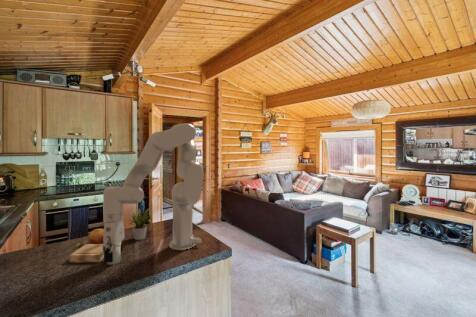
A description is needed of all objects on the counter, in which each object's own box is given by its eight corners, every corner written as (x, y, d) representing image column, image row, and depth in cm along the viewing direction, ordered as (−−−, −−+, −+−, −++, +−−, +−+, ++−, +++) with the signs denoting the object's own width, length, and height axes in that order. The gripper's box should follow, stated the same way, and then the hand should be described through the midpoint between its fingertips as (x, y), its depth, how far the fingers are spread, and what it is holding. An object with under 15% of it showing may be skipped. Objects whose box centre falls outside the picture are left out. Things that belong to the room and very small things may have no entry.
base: (111, 250, 116) (111, 243, 116) (99, 262, 104) (99, 254, 104) (85, 250, 115) (85, 243, 115) (69, 262, 103) (69, 254, 103)
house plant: (158, 233, 140) (158, 204, 140) (153, 242, 127) (153, 210, 126) (132, 233, 138) (132, 204, 138) (124, 243, 125) (124, 211, 124)
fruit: (112, 236, 130) (107, 226, 125) (103, 249, 123) (98, 238, 119) (97, 235, 131) (92, 225, 126) (88, 248, 124) (82, 238, 120)
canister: (123, 258, 107) (123, 240, 107) (117, 265, 102) (117, 245, 102) (110, 259, 107) (109, 240, 107) (103, 265, 102) (103, 245, 101)
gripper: (113, 222, 95) (113, 266, 96) (130, 211, 113) (130, 248, 113) (93, 222, 95) (93, 266, 96) (113, 211, 112) (113, 248, 113)
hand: (113, 256), depth 104 cm, fingers open, 9 cm apart
